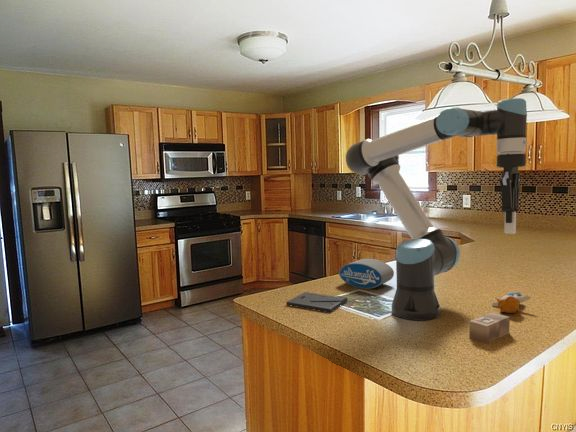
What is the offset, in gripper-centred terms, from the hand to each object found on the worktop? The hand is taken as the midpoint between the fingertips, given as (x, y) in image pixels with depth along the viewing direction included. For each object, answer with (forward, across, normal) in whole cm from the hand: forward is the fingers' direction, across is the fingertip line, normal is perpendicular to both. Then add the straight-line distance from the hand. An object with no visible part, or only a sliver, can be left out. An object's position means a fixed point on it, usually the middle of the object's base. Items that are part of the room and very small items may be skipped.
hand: (510, 233), depth 123 cm
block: (+24, -11, -1) cm, 26 cm away
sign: (+27, +8, +56) cm, 62 cm away
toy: (+27, +10, +2) cm, 29 cm away
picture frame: (+27, -23, +57) cm, 67 cm away
